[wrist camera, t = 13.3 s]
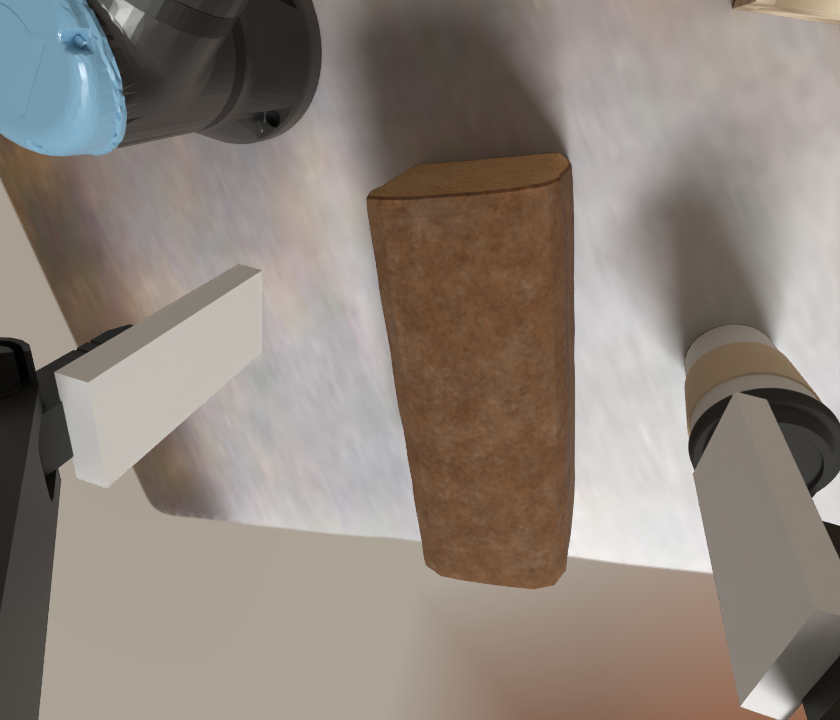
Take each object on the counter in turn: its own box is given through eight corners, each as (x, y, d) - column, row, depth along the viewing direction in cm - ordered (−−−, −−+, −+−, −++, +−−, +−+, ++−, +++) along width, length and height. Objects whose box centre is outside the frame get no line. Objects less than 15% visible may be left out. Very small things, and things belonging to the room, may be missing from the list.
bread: (446, 481, 64) (409, 582, 52) (405, 163, 49) (340, 201, 37) (577, 492, 60) (569, 604, 48) (575, 148, 45) (564, 185, 33)
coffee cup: (652, 340, 50) (668, 440, 37) (763, 292, 46) (823, 386, 33) (699, 420, 52) (728, 540, 39) (808, 381, 48) (881, 501, 35)
